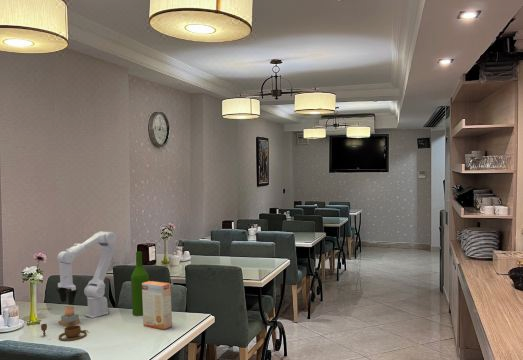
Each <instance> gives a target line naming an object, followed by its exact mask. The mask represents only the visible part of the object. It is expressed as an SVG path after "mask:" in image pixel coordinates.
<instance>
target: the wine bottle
mask: <svg viewBox="0 0 523 360" xmlns="http://www.w3.org/2000/svg"><path fill="white" fill-rule="evenodd" d="M135 258H136V259H135V264H136V265H135V267H134V270H133V271H132V274H131V276H130V285H131V308H132V315H133V316H136V317H143V299H142V283H144V282H148V281H150V280H149V277H150V276H149V273H148V272H147V270H146V268H145V267H144V266H143V252H142V251H139V250H138V251H136V252H135Z"/></svg>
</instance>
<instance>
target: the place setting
mask: <svg viewBox="0 0 523 360" xmlns="http://www.w3.org/2000/svg"><path fill="white" fill-rule="evenodd" d="M40 326H41V327H40V329H41V331H42V336H43V337H46V331H47V329H48V325H47V323H42V324H40ZM87 333H88V334H89V333H90V331H88V330H87V329H83V330H82V327H81V325H79V324H77V325H73V326H68V327H64V332H62V333H60V334H59V335H58V340H60V341H62V342H72V341H77V340H82V339H84V338H85V337H87V335H88V334H87ZM80 334H83V335H80ZM79 335H80V336H79ZM64 336H65V337H66V338H62V337H64ZM49 340H51V338H50V339H47V341H49Z"/></svg>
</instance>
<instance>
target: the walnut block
mask: <svg viewBox="0 0 523 360" xmlns="http://www.w3.org/2000/svg"><path fill="white" fill-rule="evenodd" d="M80 320H81V319H79V320H76V321H72V322H69V323H67V322H64V321H61V320H58V323H59V326H62V327H64V328H66V327H68V326H73V325H79V324H80Z"/></svg>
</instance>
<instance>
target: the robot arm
mask: <svg viewBox="0 0 523 360" xmlns="http://www.w3.org/2000/svg"><path fill="white" fill-rule="evenodd" d="M117 240H118V239H117V236H116V234H115V232H112V231H101V230H100V231H98V232H95V233H94V234H93V235H92V236H91V237H89V238H87V240H86V239H85V241H84V242H82V243H79V242H78V243H76V242H75V243H73V245H72V246H71V247H69V248H66V249H65V251H60V252H59V253H58V255H57V257H56V261H57V262H58V265H59V278H60V279H59V280H60V281H59V282H57V288H56V289H55V291H56V292H57V294H58V296H59V299H60V302H61V303H64V302H65V303H66V301H68V305H73V304H74V303H75V299H76V295H77V293H78V290H79V289H77V286H76V285H75V284H74V283H73V282H74V281H73V280H74V279H73V262H74V260H75V259H76V258H79V256H81V255H83V254H84V253H85V251H86V250H87V249H88V248H90V247H92V246H94V245H95V244H98V245H99V246H100V247H101V248H102V250H103V251H102V253H101V256H100V259H99V261H98V264H97V267H96V270H95V273H94V275H93V277H92V279H90V280H89V281H88V283H87V285H86V286H85V288H84V291H83V292H84V295H85V296H86V299H87V313H86V314H84V316H86V317H89V318H91V319H94V318H97V317H101V316H104V315H108V314H109V312H108V311H109V310H108V309H109V308H108V299H107V297H106V296H104V295H105V292H106V291H105V288H106V284H105V282H104V281H105V278H106V275H107V273H108V269H109V267H110V264H111V261H112V259H113V256H114V254H115V251H116V242H117Z"/></svg>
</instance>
